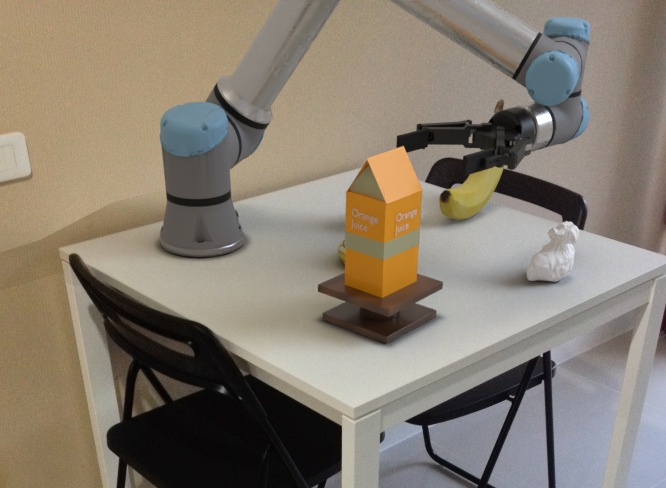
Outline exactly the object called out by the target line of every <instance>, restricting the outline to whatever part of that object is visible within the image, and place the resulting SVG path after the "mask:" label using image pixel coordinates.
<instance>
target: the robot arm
mask: <svg viewBox="0 0 666 488" xmlns="http://www.w3.org/2000/svg"><path fill="white" fill-rule="evenodd" d="M341 1H342V0H277V2H276V3H275V5H274V7H273V9H272V10H271V11H270V13H269V15H268V16H267V18H266V19H265V21H264V23H263V24H262V26H261V28H260V29H259V31H258V32H257V34H256V36H255V37H254V39H253V40H252V42H251V43H250V45H249V47H248V48H247V49H246V52H245V53H244V55H243V56H242V58H241V60H240V61H239V62H238V65H237V66H236V68H235V69H234V71H233V72H232V74H231V75H223V76H221V77H219V78H218V80H217V82H216V83H215V85H214V86H213V88H212V90H211V91H210V93H209V95H208V96H207V97H206V99H205V101H190V102H189V101H188V102H185V103H183V104H177V105H174V106H172V107H170V108H168V109H167V110H166V111H165V112H164V113H163V114H162V116H161V118H160V123H159V127H160V128H159V129H160V133H159V143H160V146H161V155H162V166H163V175H164V186H165V195H166V207H165V211H164V217H163V223H162V226H161V228H160V233H159V239H160V245H161V247H162V249H164V250H165V251H167V252H169V253H170V254H174V255H178V256H181V257H191V258H206V257H207V258H209V257H217V256H223V255H226V254H229V253H231V252H234V251H237V250H238V249H240V248H241V247H242V246H243V244H244V241H245V240H244V230H243V227H242V224H241V223H240V221H239V218H240V216H239V213H238V211H237V210H236V209H235V206H234V202H233V200H232V183H231V182H232V181H231V170H232V169H233V168H234V167H235V166H237V165H238V164H239V163H240V162H241V163H242V161H243V160H245V159H247V158H249V157H250V156H251V155H253V154H254V153H255V152H256V151H257V149H258V148H259V147H260V145H261V143H262V141H263V139H264V135H265V132H266V130H267V128H268V126H269V125H270V124H271V122H272V120H273V117H274V113H273V108H272V105H273V104H274V103H275V100H276V99H277V97H278V96H279V94H280V93H281V92H282V90H283V89H284V87H285V85H287V83H288V81H289V80H290V78H291V77H292V76H293V74H294V72H295V71H296V69H297V68H298V66H299V64H300V63H301V61H302V60H303V59H304V57H305V56H306V54H307V53H308V51H309V50H310V48H311V47H312V45H313V43H314V42H315V40H316V39H317V38H318V36H319V35H320V33H321V32H322V30H323V28H324V27H325V26H326V25H327V22H328V21H329V20H330V18H331V17H332V15H333V14H334V12H335V11H336V9H337V8H338V6H339V5H340V3H341ZM388 1H389V2H391V4H394V5H395V6H396V7H398V8H400V9H401V10H403V11H405V12H406V13H408V14H409V15H411V16H413V17H414V18H415V19H417V20H419V21H421V22H422V23H424V24H425V25H426V26H428V27H430V28H431V29H433V30H435V32H437V33H439V34H441V35H442V36H444V37H445V38H447V39H449V40H450V41H452V42H453V43H455V44H456V45H458V46H459V47H461V48H463V49H465V50H466V51H468V52H469V53H470V54H472V55H474V56H476V58H478V59H480V60H482V61H483V62H485V63H487V64H488V65H490V66H491V67H493V68H494V69H496V70H497V71H499V72H501V73H502V74H503V75H506V76H507V77H509V78H510V79H512V80H513V81H515V83H517V84H519V85H520V86H522V87H523V88H525V89H526V92H527V93H528V95H529V97H530V98H531V99H532V100H533V101H531V102H527V103H524V104H519V105H516V106H513V107H508V108H505V109H503V110H501V111H498V112H497V113H494V114H493V115H492V116H491V117H490V118H489V120H488V121H487V122H481V123H473V120H472V119H464V120H461V121H444V122H429V123H428V122H427V123H417V124H416V130H414V131H410V132H407V133H402V134H398V135H396V145H395V146H396V148H399V147H402V146H404V148H405V150H406V153H407V154H408V153H411V152H414V151H420V150H426V148H429V146H432V145H433V146H439V145H440V146H441V145H442V146H463V148H464V149H478V150H479V151H476V152H471V153H469V154H465V155H463V156H462V163H461V164H462V165H461V175H462V176H465V177H466V176H469V175H470V174H473V173H476V172H480V171H483V170H486V169H490V168H493V167H495V166H496V167H498V168H501V167H503V165H504V166H507V167H506V168H507V170H509V171H514V170H516V169H517V168H518V166H519V165H520V163H521V162H522V161H523V159H524V158H525V157H528V156H529V155H531V154H532V152H536V151H540V150H542V149H545V148H549V147H554V146H558V145H564V144H566V143H568V142H570V141H573V140H575V139H577V138H578V137H580V136H581V135H582V134H583V133H585V131H586V130H587V127H588V126H589V122H590V117H591V116H590V111H589V110H590V109H589V105H588V103H587V101H586V99H585V98H584V97H583V96H582V86H583V81H584V75H585V70H586V63H587V58H588V57H587V56H588V51H589V47H590V42H591V41H590V35H591V24H590V23H589V21H588V20H586V19H583V18H579V17H571V16H555V17H550V18H548V19H547V20H546V21H544V25H543V30H542V33H541V32H540V31H539V30H538V29H536V28H535V27H533V26H531V25H530V24H529V23H527V22H526V21H524V20H523V19H521V18H520V17H518V16H516V15H514V14H513V13H512V12H510V11H508V10H507V9H505V8H503V7H502V6H500V5H499V4H498V3H496V2H494V1H493V0H388ZM470 138H471V142H470ZM396 148H395V149H396ZM481 150H483V151H481Z"/></svg>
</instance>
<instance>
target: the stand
mask: <svg viewBox="0 0 666 488" xmlns="http://www.w3.org/2000/svg"><path fill="white" fill-rule="evenodd" d="M443 287H444V281H443V280H439V279H436V278H433V277H429V276H427V275H424V274H420V273H417V281H416V282H414V283H412V284H410V285H408V286H406V287H404V288H402V289H400V290H398V291H396V292H394V293H391V294H389V295H387V296H385V297H383V298H381V297H378V296H375V295H372V294H369V293H367V292H364V291H361V290H358V289H355V288H353V287H350V286H347V285H345V271H344V272H343V273H342V272H341V273H340V274H338V275H335V276H334V277H331V278H329V279H327V280H325V281H322V282H320V283H318V284H317V292H318V293H320V294H323V295H326V296H329V297H331V298H334V299H337V300H339V301H343V302H342V303H341V304H338V305H335V306H334V307H332V308H330V309H328V310H325V311H324V312H322V317H321V318H322V321H325V322H327V323H330V324H333V325H335V326H338V327H340V328H343V329H346V330H349V331H350V332H353V333H356V334H359V335H362V336H365V337H367V338H370V339H372V340H375V341H377V342H381V343H383V344H385V345H387V344H390V343H392V342H393V341H395V340H397V339H399V338H400V337H402V336H404V335H406V334H408V333H410V332H411V331H413V330H415V329H416V328H419V327H420V326H422V325H424V324H426V323H428V322H430V321H431V320H433V319H435V318H436V317H437V309H434V308H431V307H428V306H425V305H422V304H420V303H418V302H420V301H422V300H424V299H425V298H427V297H429V296H432V295H433V294H435V293H437V292H439V291H441V290H443Z"/></svg>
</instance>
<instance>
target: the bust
mask: <svg viewBox="0 0 666 488" xmlns="http://www.w3.org/2000/svg"><path fill="white" fill-rule="evenodd" d="M547 235H548V236H549V239H550V241H549V242H548V243H546V244H544V245H542V248H541V249H540V250H539V251H538V252H537V253H535V254H533V256H532V258H531V259H530V261H529V263H528V264H527V267H526V278H527V280H528V281H530V282H534V281H544V282H545V281H546V282H554V283H556V282H559V281H561V280H563V279H565V278H566V277H568V275H569V274H570V272H571V271H572V269H573V267H574V263H575V262H574V261H575V254H576V250H575V247H574V245H575V244H576V243H577V242H578V239H579V236H580V230H579V227H578V226H577V225H576V224H574V222H573V221H569V220H565V221H562V222H560V223H558V224H557V226H553V227H551V228H550V229H548V231H547Z"/></svg>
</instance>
